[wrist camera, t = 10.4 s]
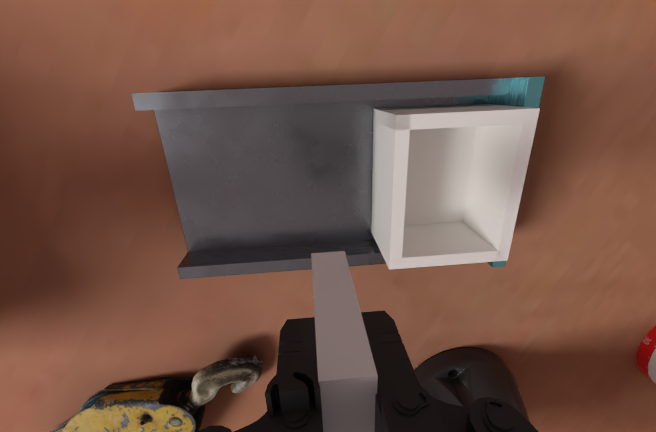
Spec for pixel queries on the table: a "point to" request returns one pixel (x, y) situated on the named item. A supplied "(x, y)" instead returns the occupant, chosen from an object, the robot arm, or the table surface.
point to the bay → (289, 167)
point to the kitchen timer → (648, 355)
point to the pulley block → (162, 400)
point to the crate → (448, 182)
